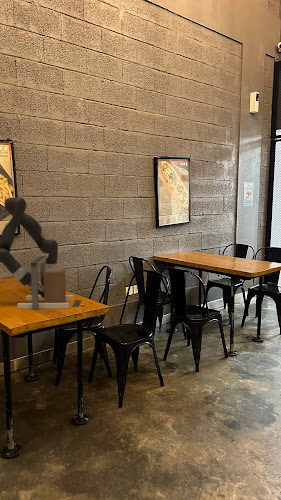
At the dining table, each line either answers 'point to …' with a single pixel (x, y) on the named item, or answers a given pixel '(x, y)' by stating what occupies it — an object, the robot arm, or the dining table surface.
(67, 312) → the dining table surface
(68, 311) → the dining table surface
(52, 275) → the wooden block
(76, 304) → the pad
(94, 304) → the dining table surface
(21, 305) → the walled lane
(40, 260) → the arch
